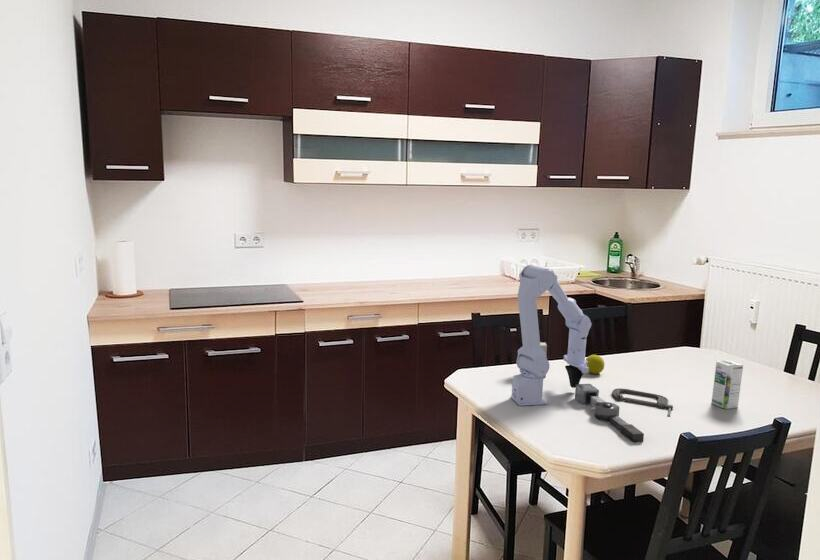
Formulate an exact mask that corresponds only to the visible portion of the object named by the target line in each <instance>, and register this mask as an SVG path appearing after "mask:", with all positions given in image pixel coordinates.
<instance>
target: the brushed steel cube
mask: <svg viewBox="0 0 820 560" xmlns="http://www.w3.org/2000/svg"><path fill="white" fill-rule="evenodd" d="M599 394H600V389H598V388H596V387H595V386H593V385H592V384H591V383H579V384H576V388H575V391H574V400H575V401H577V402H578V403H579V402H580V403H579V404H580V405H582V406H583V405H585V406H592V405H591V404H590V403H591V396H598V397H599Z"/></svg>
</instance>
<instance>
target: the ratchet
mask: <svg viewBox="0 0 820 560" xmlns="http://www.w3.org/2000/svg"><path fill="white" fill-rule="evenodd" d="M590 404H591V405H590V406H593V407H594V416H593V417H594V418H595V419H597V420H598V421H601V422H607V423H609V424H610V425H611V426H612V427H614V428H615V429H616V430H617V431H619V432H620V434H622V435H623V436H624V437H626V439H628V440H629V441H631V442H632V443H640V442H644V438H645V437H644V435H645V433H644V432H642V431H641V430H640V429H639V428H637V427H636V426H634V425H633V424H630V423H627V421H625V420H624V419H622V418H621V417H620V406H619V405H618V404H616V403H613V402H609V401H605V400H604V399H602V398H601V397H600V396H599V395H598V396H591V403H590Z"/></svg>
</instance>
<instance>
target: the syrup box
mask: <svg viewBox="0 0 820 560" xmlns="http://www.w3.org/2000/svg"><path fill="white" fill-rule="evenodd" d="M743 370H744V364H740V363H737V362H734V361H732V360H727V359H722V360H717V361H716V363H715V370H714V380H713V387H712V396H711V401H710V402H711V404H712V405H715V406H718V407H719V408H722V409H724V410H729V409H734V408H738V407H739V401H740V394H741V393H740V392H741V385H742V384H741V383H742V379H743V378H742V377H743Z"/></svg>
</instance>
